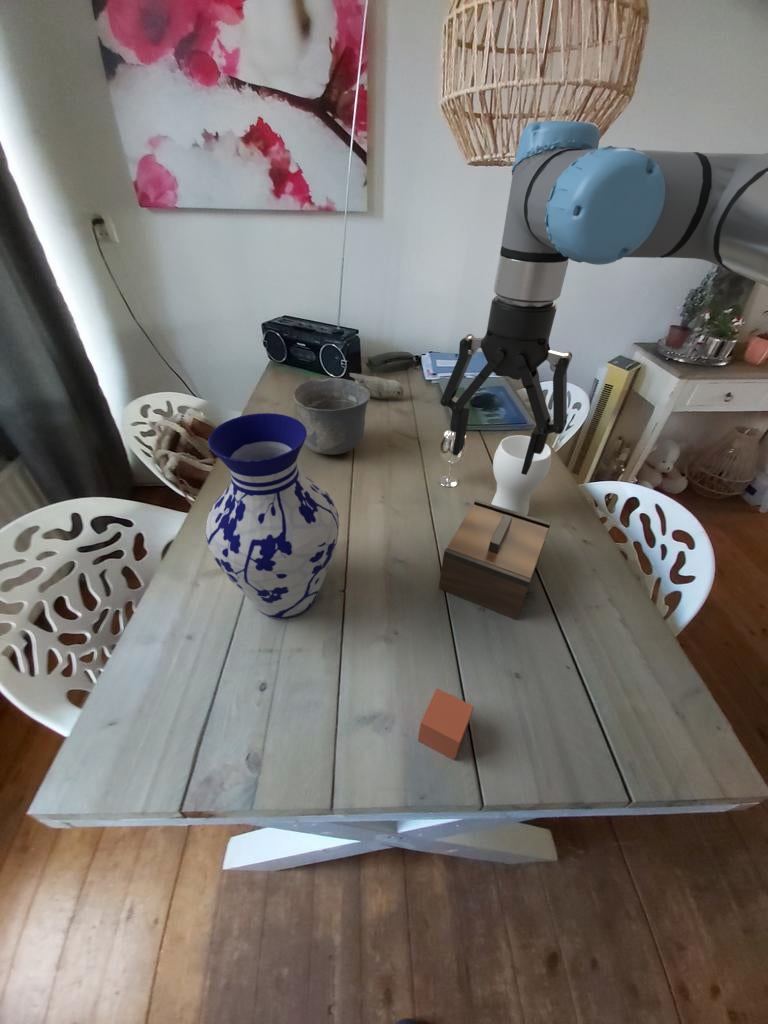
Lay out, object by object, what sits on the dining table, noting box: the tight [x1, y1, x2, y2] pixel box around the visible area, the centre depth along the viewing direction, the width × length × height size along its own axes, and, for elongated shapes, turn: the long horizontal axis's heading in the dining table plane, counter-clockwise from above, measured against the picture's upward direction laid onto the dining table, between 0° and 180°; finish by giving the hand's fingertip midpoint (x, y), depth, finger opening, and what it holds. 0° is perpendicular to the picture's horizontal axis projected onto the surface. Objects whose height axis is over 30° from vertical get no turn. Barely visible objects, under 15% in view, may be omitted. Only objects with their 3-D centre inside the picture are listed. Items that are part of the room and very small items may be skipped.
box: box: [438, 499, 552, 621], centre depth 76 cm, size 16×14×9 cm
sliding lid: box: [446, 503, 550, 580], centre depth 73 cm, size 13×14×3 cm
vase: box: [205, 412, 340, 619], centre depth 65 cm, size 19×19×30 cm
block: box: [417, 687, 475, 761], centre depth 55 cm, size 5×5×5 cm
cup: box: [490, 434, 552, 516], centre depth 88 cm, size 11×11×15 cm
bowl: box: [292, 377, 371, 456], centre depth 105 cm, size 18×18×15 cm
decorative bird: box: [349, 372, 404, 401], centre depth 131 cm, size 5×16×8 cm, turn 84°
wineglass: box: [438, 429, 468, 488], centre depth 96 cm, size 6×6×12 cm
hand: (491, 460), depth 66 cm, fingers open, 10 cm apart
